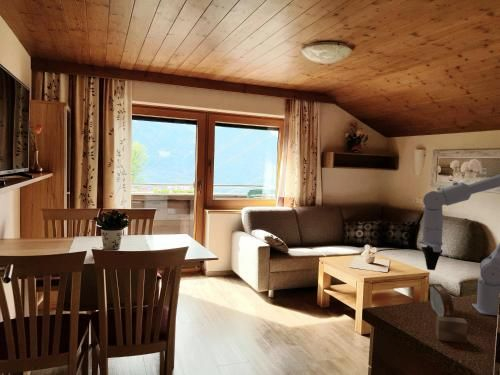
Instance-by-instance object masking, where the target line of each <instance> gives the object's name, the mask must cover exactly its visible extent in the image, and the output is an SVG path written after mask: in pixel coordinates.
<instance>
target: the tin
mask: <svg viewBox="0 0 500 375" xmlns="http://www.w3.org/2000/svg"><path fill="white" fill-rule="evenodd" d="M429 291H430V292H429V294H430V295H429V297H430V298H429V301H430V306H431V309H432V311H433V312H434V314H435V315H436V316H442V317H453V318H455V317H454V314H455V307H454V302H453V298H452V296H451V293H450V292H449V290H447V288H446V287H445V286H443V285H442V283H432V284H430V285H429Z"/></svg>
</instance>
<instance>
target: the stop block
mask: <svg viewBox="0 0 500 375" xmlns="http://www.w3.org/2000/svg"><path fill="white" fill-rule="evenodd" d="M435 337H436V339H437V341H444V342H453V343H460V344H461V343H463V344H467V342H468V322H467V321H466V319H465V318H462V317H442V316H437V315H436V316H435Z"/></svg>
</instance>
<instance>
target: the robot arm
mask: <svg viewBox="0 0 500 375" xmlns="http://www.w3.org/2000/svg"><path fill="white" fill-rule="evenodd" d="M495 188H500V174H496V175H494V176H491V177H488V178H484V179H482V180H479V181H476V182H473V183H469V184H467V183H464V182H458V181H455V182H453V183H452V184H451V185H448V186H446V187H442V188H441V187H437V189H436V190H430V192H427V193H426V194H425V195H424V197H423V199H422V201H423V204H424V207H423V212H424V213H423V215H422V216H423V217H422V219H423V220H422V240H418V244H421V245H424V246H421V250H422V252H423V255H424V259H425V266H426V269H427V270H428V271H435V270H436V268H437V265H438V262H439V261H438V260H439V258H440V257H441V256H442V253H443V249H442V246H443V227H444V226H443V224H444V222H443V221H444V220H443V219H444V214H443V206H451V205H454V204H458V203H462V202H465V201H468V200H469V199H470V198H471V196H472V195H474V194H477V193H482V192H485V191H488V190H492V189H493V190H494V189H495ZM479 269H480V271H479V272H480V276H479V277H478V278H477V296H476V297H477V298H476V303H471V306H472V307H473V308H474V309H475V310H476V311H477V312H478V313H480V314H481V315H487V316H488V315H490V316H498V315H497V312H498V304H499V293H500V242H499V243H498V245H497V246H496V248H495V249H494V250H493V251H492V252H491V253H490V255H489V256H488V257H486V258H484V259H482V260H481V262H480V264H479Z"/></svg>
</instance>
